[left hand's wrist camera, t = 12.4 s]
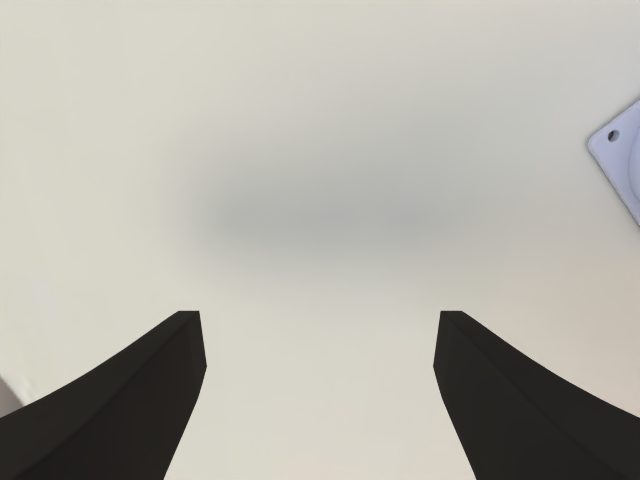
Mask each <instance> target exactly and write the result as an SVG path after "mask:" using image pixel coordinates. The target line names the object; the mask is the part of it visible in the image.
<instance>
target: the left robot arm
mask: <svg viewBox="0 0 640 480" xmlns="http://www.w3.org/2000/svg"><path fill="white" fill-rule="evenodd" d="M611 131H613V137H612V138H611V139H610V140H608V135H609V133H610V132H611ZM588 147H589V150H590V151H591V153H592V154H593V156H594V158H595V159H596V161H597V162H598V164H599V165H600V167H601V168H602V170H603V171H604V173H605V174H606V176H607V177H608V179H609V180H610V182H611V183H612V185H613V186H614V188H615V189H616V191H617V192H618V194H619V195H620V197H621V198H622V200H623V202H624V203H625V205H626V206H627V208H628V209H629V211H630V212H631V214H632V215H633V217H634V218H635V220H636V221H637V223H638V224H639V226H640V99H639V100H638V101H637V102H636V103H634V104H633V105H632V106H630V107H629V108H628V109H626V110H625V111H624V112H623V113H621V114H620V115H619V116H617V117H616V118H615V119H614V120H612V121H611V122H610V123H608V124H607V125H606V126H604V127H603V128H602V129H601V130H599V131H598V132H597V133H595V134H594V135H593V136H592V137H591V138H590V140H589V143H588ZM206 368H207V364H206V357H205V349H204V342H203V335H202V328H201V320H200V313H199V311H178V312H176V313H174V314H173V315H171V316H170V317H168V318H167V319H166V320H164V321H163V322H161V323H160V324H159V325H157V326H156V327H154V328H153V329H152V330H150V331H149V332H147V333H146V334H145V335H143V336H142V337H140V338H139V339H138V340H136V341H135V342H133V343H132V344H130V345H129V346H128V347H126V348H125V349H123V350H122V351H120V352H119V353H117V354H116V355H114V356H112V357H111V358H109V359H108V360H106V361H105V362H103V363H102V364H100V365H99V366H97V367H96V368H94V369H92V370H91V371H89V372H88V373H86V374H84V375H83V376H81V377H79V378H78V379H76V380H74V381H72V382H71V383H69V384H67V385H65V386H63V387H62V388H60V389H58V390H56V391H54V392H52V393H51V394H49V395H47V396H45V397H43V398H41V399H39V400H37V401H35V402H33V403H31V404H29V405H27V406H24V407H22V408H20V409H18V410H16V411H14V412H12V413H10V414H8V415H6V416H4V417H1V418H0V480H164V477H165V475H166V472H167V470H168V467H169V465H170V463H171V460H172V458H173V456H174V453H175V451H176V449H177V446H178V444H179V442H180V439H181V437H182V435H183V433H184V430H185V428H186V426H187V423H188V421H189V418H190V416H191V414H192V411H193V409H194V407H195V404H196V402H197V399H198V396H199V393H200V390H201V386H202V383H203V379H204V375H205V372H206ZM433 368H434V372H435V375H436V379H437V383H438V386H439V390H440V393H441V396H442V399H443V402H444V404H445V407H446V409H447V411H448V414H449V416H450V418H451V421H452V423H453V426H454V428H455V430H456V433H457V435H458V437H459V439H460V442H461V444H462V446H463V449H464V451H465V453H466V456H467V458H468V460H469V463H470V465H471V467H472V470H473V472H474V475H475V477H476V480H640V418H639V417H637V416H635V415H632V414H630V413H628V412H626V411H624V410H622V409H620V408H617V407H615V406H613V405H611V404H609V403H607V402H605V401H603V400H601V399H599V398H597V397H596V396H594V395H592V394H590V393H588V392H586V391H584V390H583V389H581V388H579V387H577V386H575V385H573V384H572V383H570V382H568V381H566V380H565V379H563V378H561V377H559V376H558V375H556V374H554V373H553V372H551V371H550V370H548V369H546V368H545V367H543V366H542V365H540V364H538V363H537V362H535V361H534V360H532V359H531V358H529V357H527V356H526V355H524V354H523V353H521V352H520V351H519V350H517V349H516V348H514V347H513V346H511V345H510V344H508V343H507V342H505V341H504V340H503V339H501V338H500V337H498V336H497V335H496V334H494V333H493V332H491V331H490V330H489V329H487V328H486V327H484V326H483V325H482V324H480V323H479V322H477V321H476V320H475V319H473V318H472V317H470V316H469V315H467V314H466V313H464V312H462V311H441V313H440V320H439V328H438V335H437V342H436V349H435V357H434V364H433Z"/></svg>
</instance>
